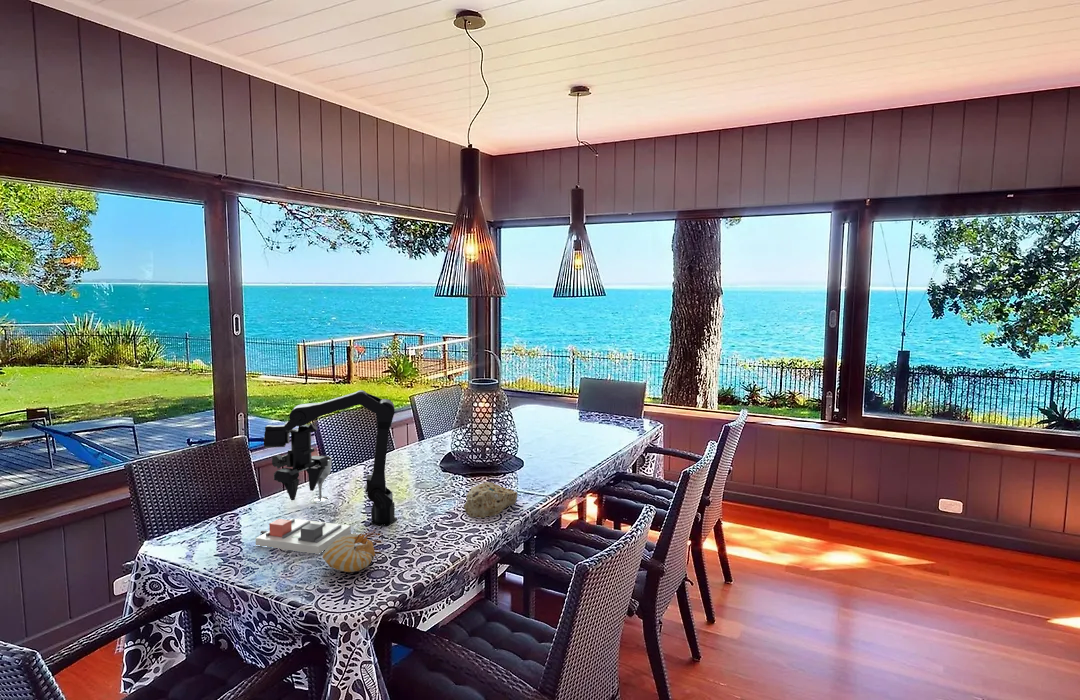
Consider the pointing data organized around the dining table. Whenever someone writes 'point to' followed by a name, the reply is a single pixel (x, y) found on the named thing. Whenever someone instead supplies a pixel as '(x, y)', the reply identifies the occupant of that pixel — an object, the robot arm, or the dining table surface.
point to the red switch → (280, 527)
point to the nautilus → (351, 552)
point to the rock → (488, 500)
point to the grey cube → (311, 532)
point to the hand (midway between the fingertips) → (302, 495)
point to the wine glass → (322, 478)
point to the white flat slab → (295, 543)
